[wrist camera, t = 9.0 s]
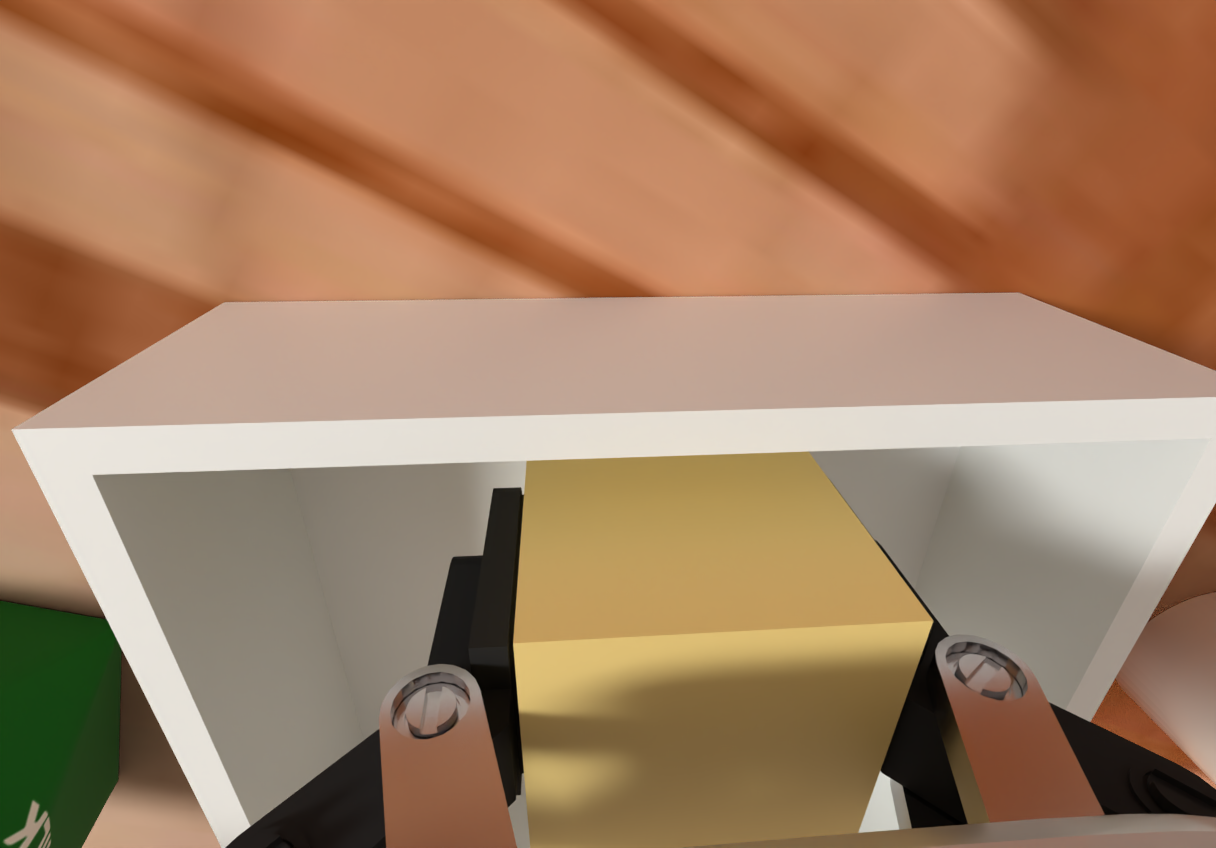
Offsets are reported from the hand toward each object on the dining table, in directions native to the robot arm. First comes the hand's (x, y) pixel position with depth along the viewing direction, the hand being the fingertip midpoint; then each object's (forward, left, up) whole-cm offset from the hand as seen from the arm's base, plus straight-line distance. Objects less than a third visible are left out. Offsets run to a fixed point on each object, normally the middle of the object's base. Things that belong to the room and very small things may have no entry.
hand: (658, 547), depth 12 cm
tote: (0, +4, -3) cm, 5 cm away
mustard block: (0, 0, -1) cm, 1 cm away
